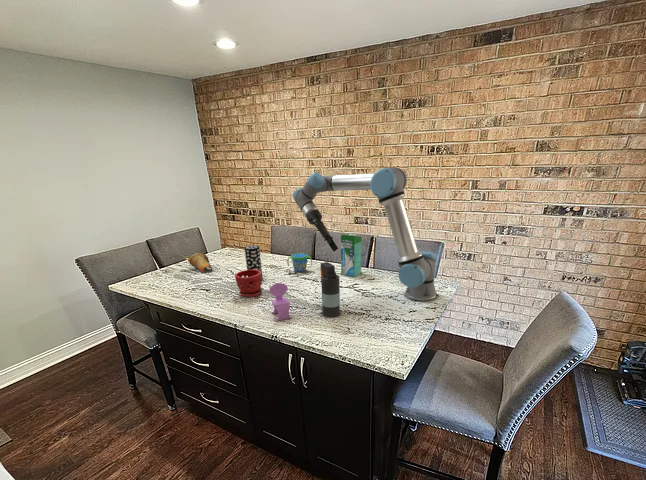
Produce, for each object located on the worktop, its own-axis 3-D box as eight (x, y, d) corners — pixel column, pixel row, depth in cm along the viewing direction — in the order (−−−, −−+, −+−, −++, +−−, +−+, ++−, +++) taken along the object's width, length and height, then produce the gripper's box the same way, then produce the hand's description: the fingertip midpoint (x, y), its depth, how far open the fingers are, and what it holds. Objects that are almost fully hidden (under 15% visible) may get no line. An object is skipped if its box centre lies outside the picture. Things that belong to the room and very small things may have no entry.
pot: (195, 261, 206) (184, 247, 216) (190, 277, 210) (179, 263, 220) (221, 264, 219) (209, 251, 229) (216, 279, 223) (204, 265, 233)
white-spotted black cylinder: (245, 281, 197) (241, 248, 189) (253, 277, 204) (250, 245, 196) (257, 283, 194) (253, 249, 186) (265, 279, 201) (262, 246, 194)
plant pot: (254, 288, 188) (252, 267, 183) (267, 294, 179) (265, 272, 174) (233, 294, 179) (230, 273, 175) (246, 301, 171) (243, 278, 166)
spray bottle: (317, 310, 159) (315, 263, 150) (332, 306, 162) (331, 260, 153) (327, 319, 150) (325, 269, 141) (343, 315, 154) (342, 266, 145)
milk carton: (361, 272, 210) (361, 232, 200) (354, 276, 203) (354, 235, 193) (348, 270, 214) (348, 231, 204) (341, 274, 207) (340, 233, 197)
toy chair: (275, 321, 149) (272, 289, 143) (270, 313, 156) (267, 283, 150) (293, 318, 152) (291, 286, 146) (287, 310, 159) (285, 280, 153)
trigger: (320, 283, 155) (320, 269, 153) (326, 282, 156) (326, 268, 154) (322, 284, 154) (321, 270, 151) (328, 283, 155) (327, 269, 152)
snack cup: (313, 268, 220) (312, 253, 216) (311, 273, 210) (310, 257, 206) (289, 268, 221) (288, 253, 217) (286, 273, 211) (285, 257, 207)
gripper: (311, 223, 177) (334, 257, 170) (300, 214, 165) (324, 250, 158) (323, 214, 176) (346, 248, 168) (312, 204, 163) (337, 240, 156)
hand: (335, 249), depth 163 cm, fingers closed
